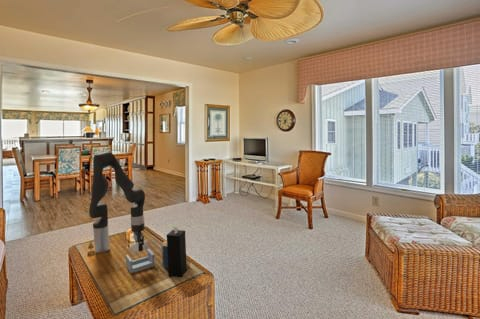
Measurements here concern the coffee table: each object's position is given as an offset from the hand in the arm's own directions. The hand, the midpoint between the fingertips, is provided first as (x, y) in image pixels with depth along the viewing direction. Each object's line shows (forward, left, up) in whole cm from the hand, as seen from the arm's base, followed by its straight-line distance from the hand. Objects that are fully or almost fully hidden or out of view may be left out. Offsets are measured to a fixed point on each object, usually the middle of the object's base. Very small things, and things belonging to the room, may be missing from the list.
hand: (139, 249), depth 159 cm
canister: (+10, +17, -11) cm, 23 cm away
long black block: (+22, +15, -11) cm, 29 cm away
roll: (+2, 0, -1) cm, 2 cm away
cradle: (0, 0, -11) cm, 11 cm away
